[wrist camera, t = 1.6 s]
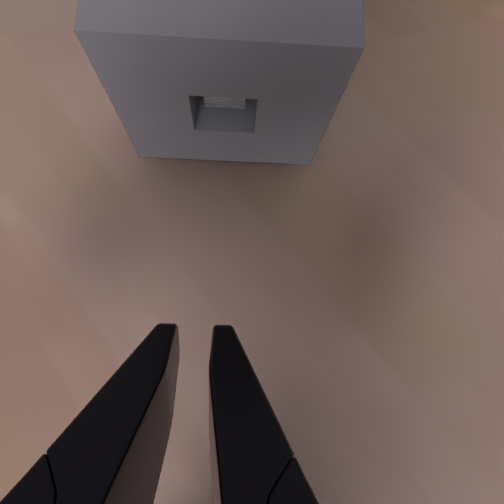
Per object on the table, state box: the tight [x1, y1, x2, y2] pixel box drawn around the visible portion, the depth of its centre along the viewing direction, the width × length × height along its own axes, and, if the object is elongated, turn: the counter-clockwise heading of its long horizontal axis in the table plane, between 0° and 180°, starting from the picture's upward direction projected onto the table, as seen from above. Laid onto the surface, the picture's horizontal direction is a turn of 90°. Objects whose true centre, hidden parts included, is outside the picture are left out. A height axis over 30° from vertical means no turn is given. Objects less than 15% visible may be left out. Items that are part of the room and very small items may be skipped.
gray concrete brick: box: [74, 0, 364, 165], centre depth 19 cm, size 3×10×10 cm, turn 89°
